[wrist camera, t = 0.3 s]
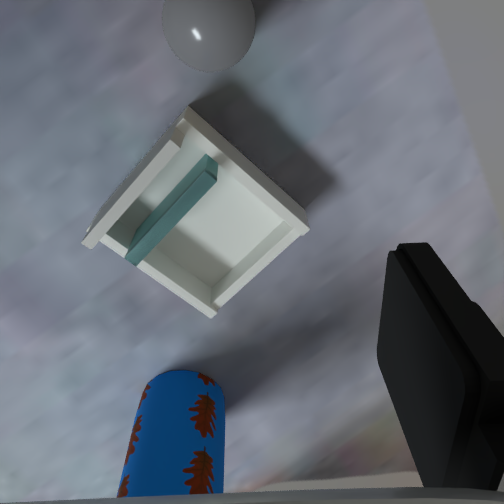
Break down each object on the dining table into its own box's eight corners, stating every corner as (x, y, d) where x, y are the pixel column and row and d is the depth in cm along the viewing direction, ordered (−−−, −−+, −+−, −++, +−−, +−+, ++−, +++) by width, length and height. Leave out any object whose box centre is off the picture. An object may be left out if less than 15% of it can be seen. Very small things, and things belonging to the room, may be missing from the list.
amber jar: (160, 17, 38) (143, 25, 31) (210, -49, 36) (203, -56, 29) (217, 72, 40) (213, 91, 33) (268, 13, 38) (274, 20, 31)
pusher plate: (136, 229, 46) (124, 258, 42) (208, 149, 43) (204, 171, 38) (146, 236, 47) (136, 266, 42) (219, 158, 43) (217, 181, 38)
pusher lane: (98, 211, 47) (74, 250, 40) (188, 105, 42) (178, 129, 35) (212, 294, 52) (209, 341, 45) (304, 209, 47) (315, 248, 40)
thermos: (242, 392, 60) (245, 627, 38) (196, 439, 64) (175, 673, 42) (169, 355, 56) (126, 590, 35) (125, 407, 60) (62, 645, 39)
